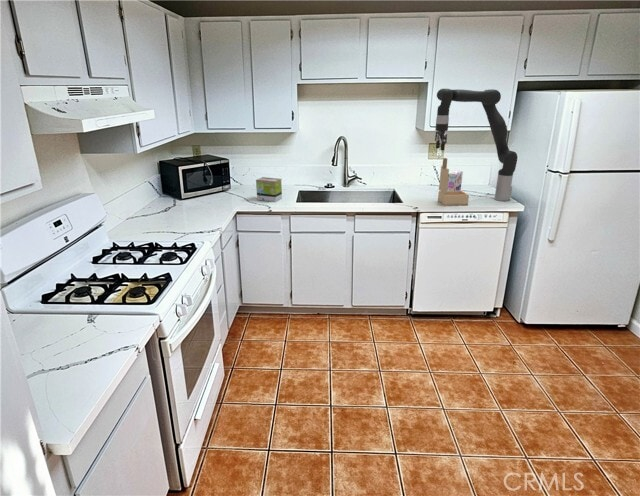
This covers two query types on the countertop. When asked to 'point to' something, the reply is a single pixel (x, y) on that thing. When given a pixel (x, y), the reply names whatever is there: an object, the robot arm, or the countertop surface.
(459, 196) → the base
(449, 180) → the candy box
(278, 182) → the tea box
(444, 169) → the lid
